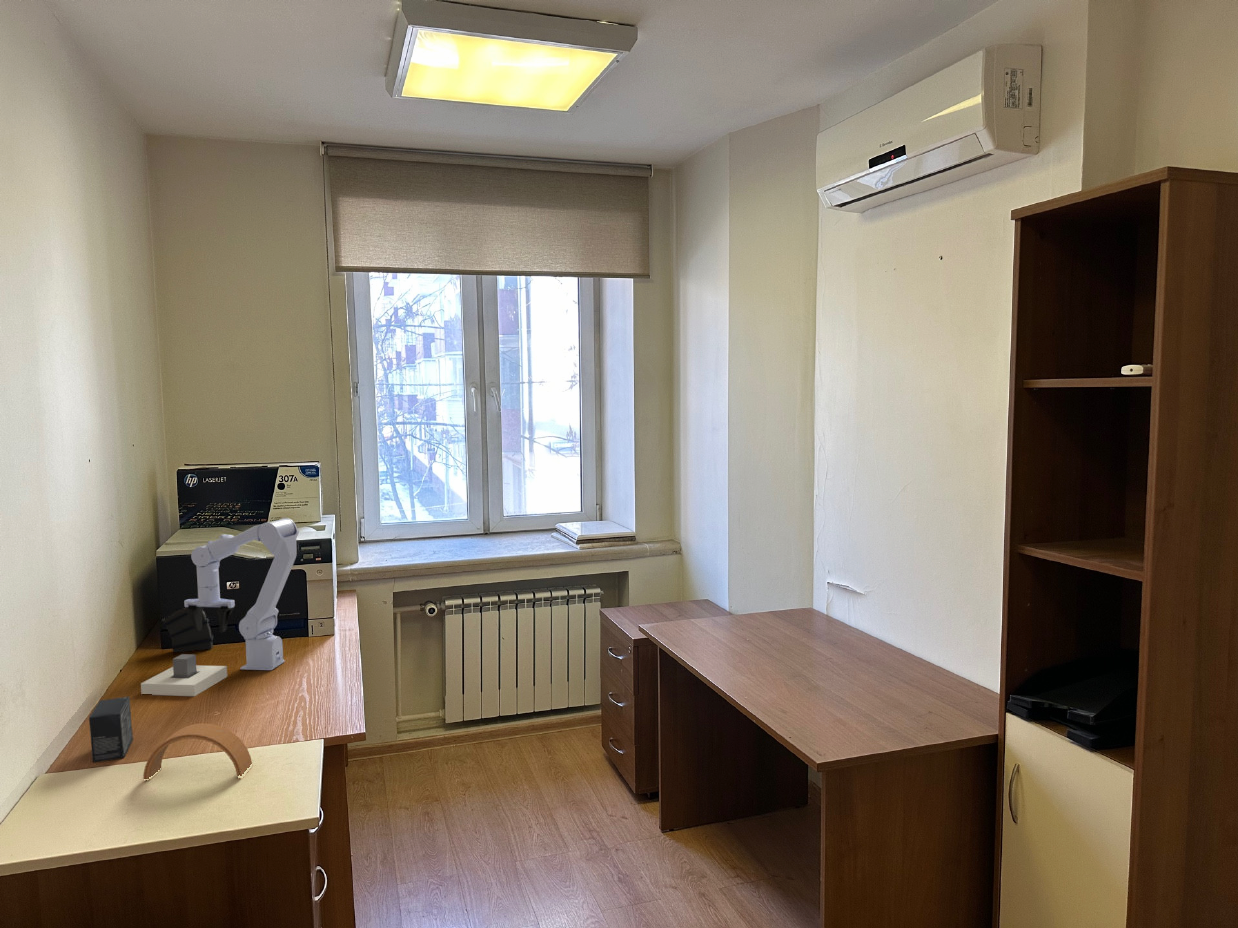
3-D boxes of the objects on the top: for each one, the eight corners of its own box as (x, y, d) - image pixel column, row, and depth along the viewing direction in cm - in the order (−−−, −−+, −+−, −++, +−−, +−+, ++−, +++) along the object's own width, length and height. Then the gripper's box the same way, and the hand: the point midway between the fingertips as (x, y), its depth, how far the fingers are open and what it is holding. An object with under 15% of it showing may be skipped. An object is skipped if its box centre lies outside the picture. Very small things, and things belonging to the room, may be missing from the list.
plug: (197, 682, 231) (195, 654, 230) (188, 688, 227) (186, 659, 226) (183, 682, 231) (182, 654, 230) (174, 687, 227) (172, 658, 226)
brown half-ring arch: (241, 780, 173) (238, 733, 172) (143, 782, 173) (140, 735, 172) (252, 767, 179) (250, 722, 178) (157, 769, 179) (154, 724, 178)
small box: (101, 743, 191) (98, 699, 190) (133, 739, 194) (131, 695, 193) (90, 763, 181) (87, 716, 180) (124, 758, 184) (121, 712, 183)
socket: (227, 676, 235) (226, 666, 235) (194, 696, 220) (194, 685, 220) (177, 674, 237) (176, 664, 237) (141, 694, 222) (140, 683, 222)
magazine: (222, 643, 260) (197, 602, 257) (181, 665, 257) (154, 624, 254) (224, 639, 264) (199, 599, 261) (183, 661, 261) (157, 621, 257)
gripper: (176, 588, 243) (179, 634, 244) (224, 589, 241) (226, 635, 242) (191, 582, 250) (194, 627, 251) (237, 583, 248) (240, 628, 249)
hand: (211, 630), depth 247 cm, fingers open, 7 cm apart
